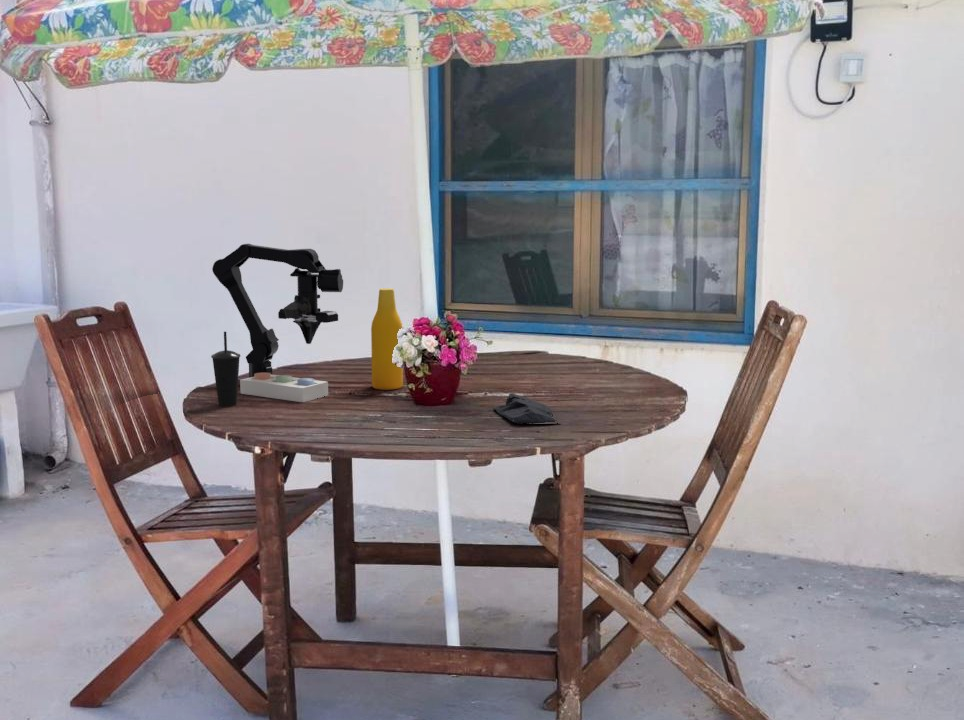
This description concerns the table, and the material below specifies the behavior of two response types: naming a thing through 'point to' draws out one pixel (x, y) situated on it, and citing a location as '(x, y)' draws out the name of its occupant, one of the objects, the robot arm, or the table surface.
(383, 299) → the beer bottle
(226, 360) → the drinking cup
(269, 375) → the button terracotta
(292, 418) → the table surface
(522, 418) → the dark slate chunk
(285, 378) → the button sage
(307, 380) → the button slate
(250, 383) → the console
